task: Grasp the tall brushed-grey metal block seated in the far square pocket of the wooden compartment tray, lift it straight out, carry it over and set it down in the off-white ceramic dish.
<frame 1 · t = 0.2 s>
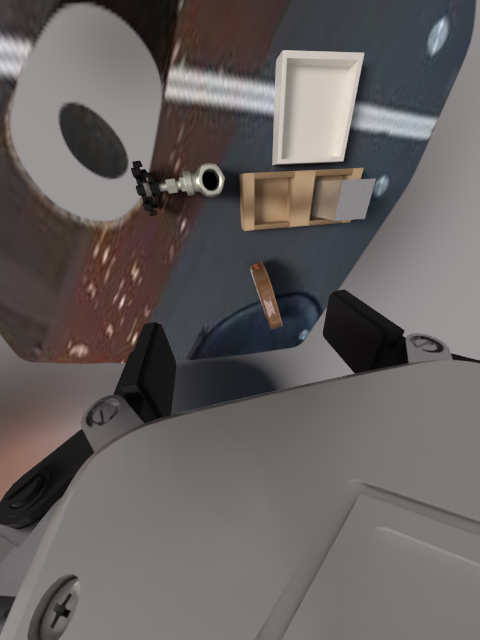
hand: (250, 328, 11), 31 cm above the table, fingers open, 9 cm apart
wooden compartment tray: (295, 199, 36), on the table
valve: (184, 184, 32), on the table
dish: (308, 118, 30), on the table
tin: (260, 288, 45), on the table
gray rectangular block: (322, 197, 36), resting on wooden compartment tray
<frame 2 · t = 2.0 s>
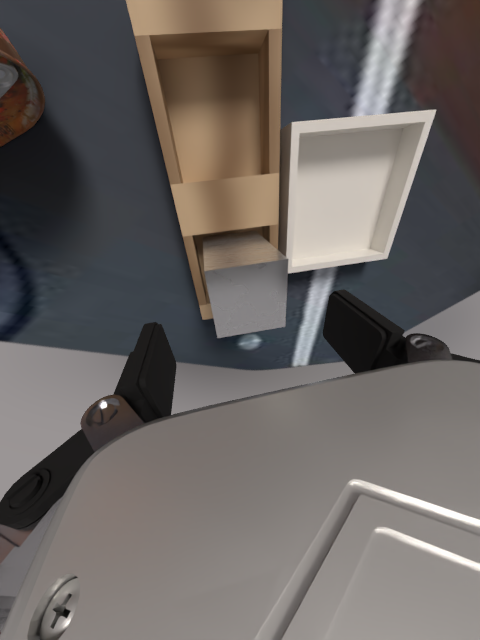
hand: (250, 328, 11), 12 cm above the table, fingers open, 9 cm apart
wooden compartment tray: (225, 203, 18), on the table
dish: (333, 202, 19), on the table
gray rectangular block: (232, 259, 20), resting on wooden compartment tray
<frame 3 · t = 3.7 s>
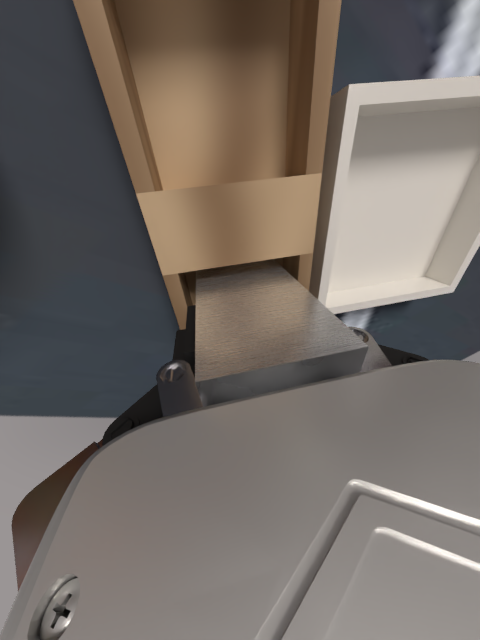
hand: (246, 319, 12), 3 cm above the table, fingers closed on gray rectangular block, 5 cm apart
wooden compartment tray: (228, 219, 12), on the table
dish: (384, 216, 14), on the table
gray rectangular block: (238, 297, 14), point 1 cm above the table, touching gripper, wooden compartment tray
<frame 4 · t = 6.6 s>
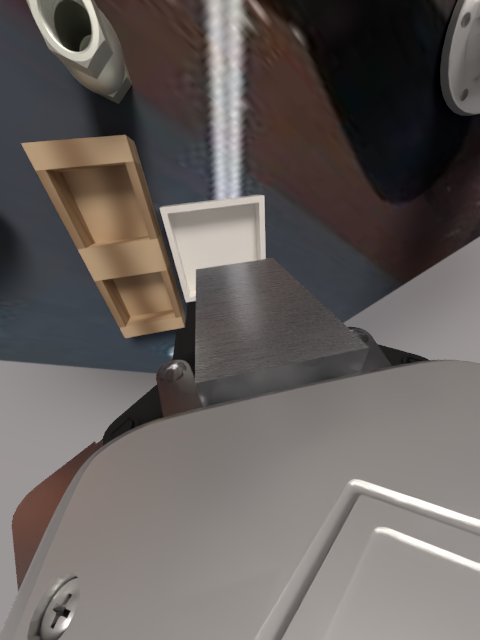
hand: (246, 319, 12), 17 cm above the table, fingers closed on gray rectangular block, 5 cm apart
wooden compartment tray: (132, 253, 24), on the table
dish: (218, 249, 26), on the table
gray rectangular block: (238, 297, 14), point 14 cm above the table, touching gripper
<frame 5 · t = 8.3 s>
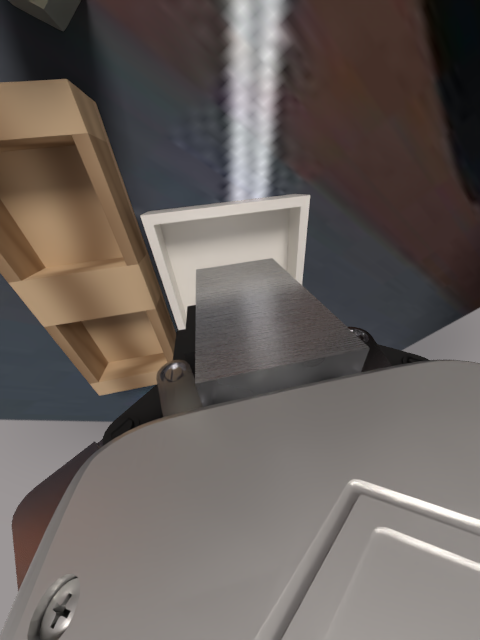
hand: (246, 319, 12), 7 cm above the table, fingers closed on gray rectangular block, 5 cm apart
wooden compartment tray: (105, 280, 16), on the table
dish: (232, 273, 18), on the table
gray rectangular block: (238, 298, 14), point 5 cm above the table, touching gripper
when the fingers open (5 cm above the table, at t = 9.7 s): gray rectangular block drops 1 cm, resting on dish.
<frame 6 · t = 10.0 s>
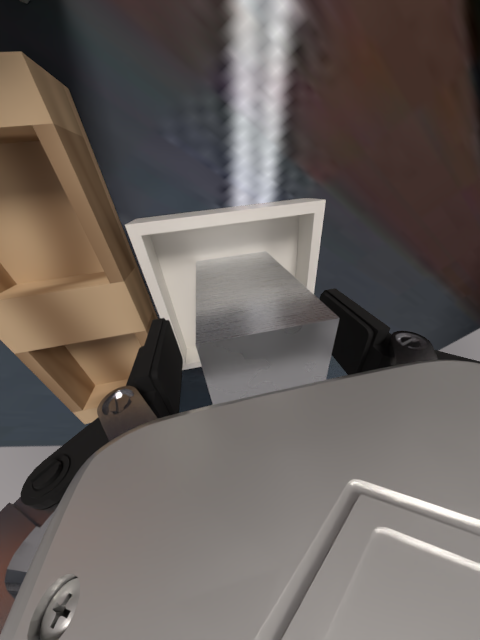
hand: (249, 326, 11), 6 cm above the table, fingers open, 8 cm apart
wooden compartment tray: (88, 296, 14), on the table
dish: (234, 286, 16), on the table
gray rectangular block: (235, 288, 16), resting on dish
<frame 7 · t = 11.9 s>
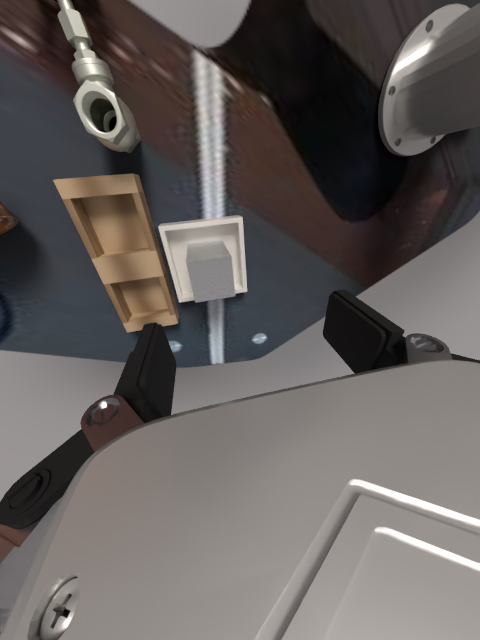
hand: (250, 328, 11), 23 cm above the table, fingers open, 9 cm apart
wooden compartment tray: (134, 261, 29), on the table
valve: (103, 80, 20), on the table
dish: (207, 258, 31), on the table
gray rectangular block: (207, 259, 31), resting on dish
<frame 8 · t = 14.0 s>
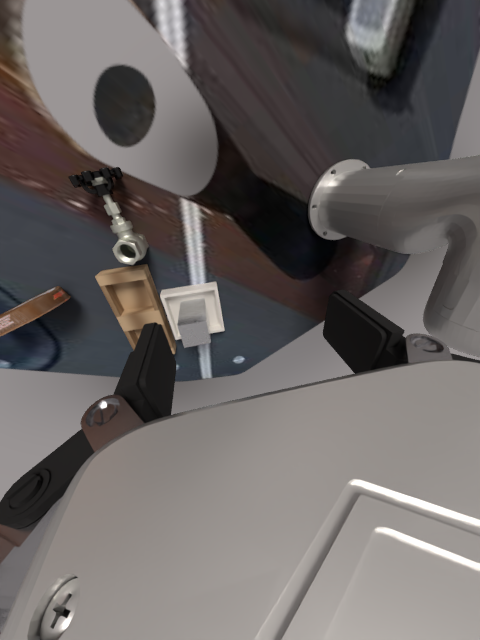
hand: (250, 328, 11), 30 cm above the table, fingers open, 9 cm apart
wooden compartment tray: (144, 313, 42), on the table
valve: (126, 218, 33), on the table
dish: (195, 308, 44), on the table
tin: (40, 301, 38), on the table
gray rectangular block: (195, 309, 43), resting on dish
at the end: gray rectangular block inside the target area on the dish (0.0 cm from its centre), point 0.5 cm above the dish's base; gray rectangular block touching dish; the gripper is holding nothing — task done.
